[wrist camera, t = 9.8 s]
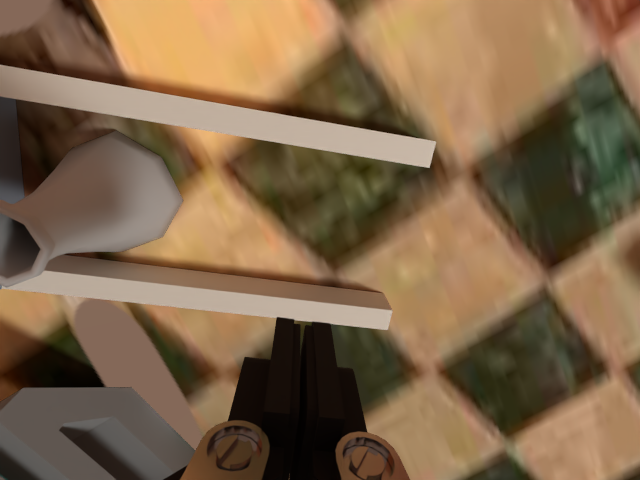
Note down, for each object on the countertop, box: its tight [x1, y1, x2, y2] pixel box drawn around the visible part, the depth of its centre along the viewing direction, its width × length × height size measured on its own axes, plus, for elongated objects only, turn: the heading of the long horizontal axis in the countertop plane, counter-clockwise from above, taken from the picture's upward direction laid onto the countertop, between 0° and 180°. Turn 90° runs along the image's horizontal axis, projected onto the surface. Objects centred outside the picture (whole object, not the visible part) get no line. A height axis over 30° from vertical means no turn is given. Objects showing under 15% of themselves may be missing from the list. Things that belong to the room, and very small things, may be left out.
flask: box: [0, 131, 183, 288], centre depth 18 cm, size 7×7×10 cm
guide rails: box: [0, 65, 436, 330], centre depth 22 cm, size 24×12×2 cm, turn 80°
